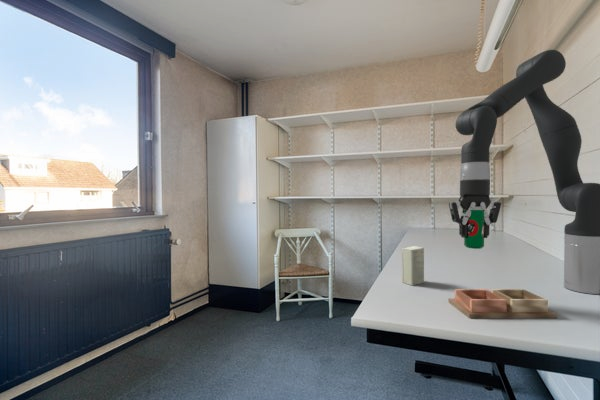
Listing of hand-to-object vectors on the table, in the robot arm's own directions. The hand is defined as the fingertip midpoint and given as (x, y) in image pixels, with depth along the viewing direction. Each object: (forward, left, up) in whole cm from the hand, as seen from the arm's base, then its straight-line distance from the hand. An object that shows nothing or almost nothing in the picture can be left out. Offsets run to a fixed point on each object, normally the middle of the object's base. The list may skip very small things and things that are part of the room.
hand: (473, 237), depth 88 cm
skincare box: (+12, -16, -18) cm, 27 cm away
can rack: (-2, +8, -18) cm, 20 cm away
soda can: (0, 0, -3) cm, 3 cm away
